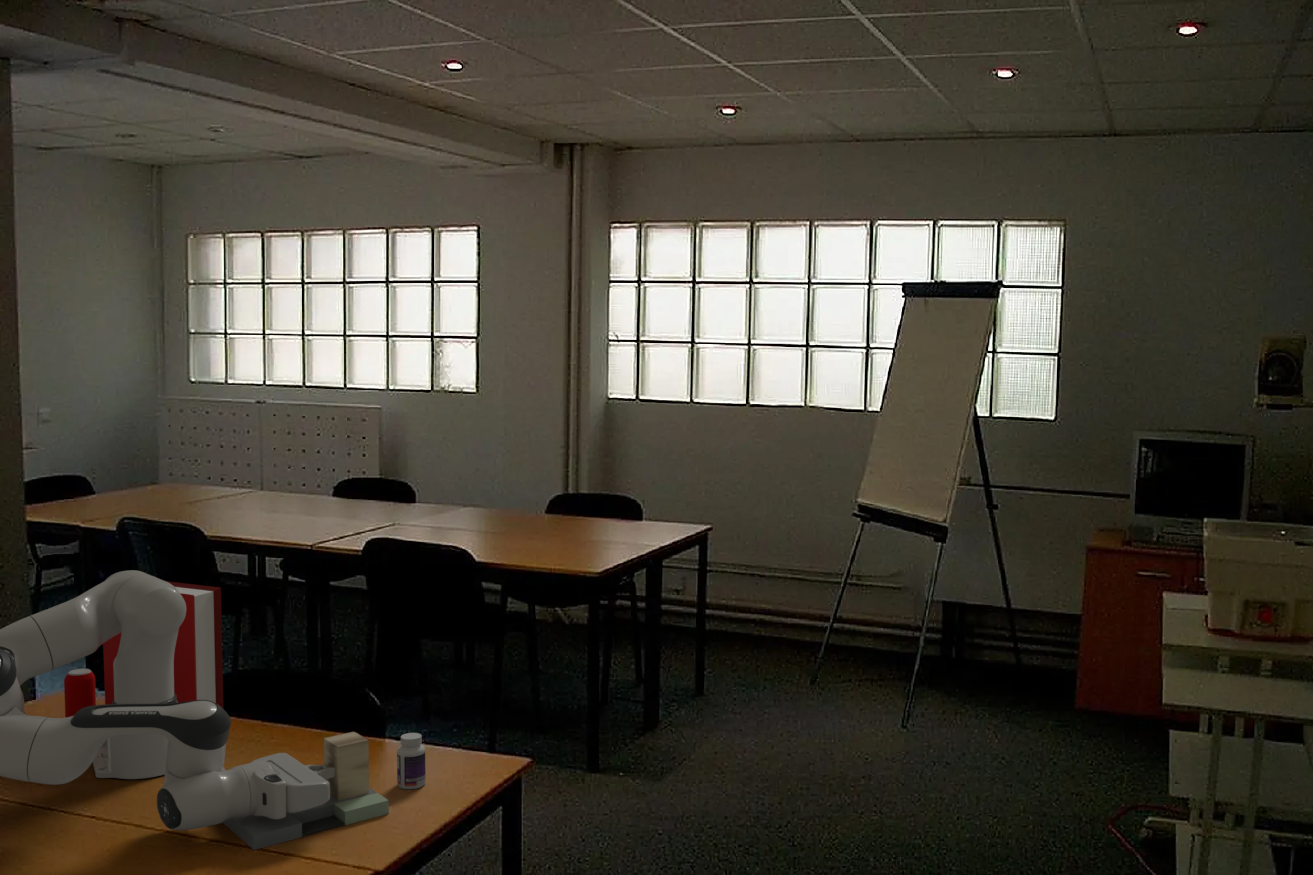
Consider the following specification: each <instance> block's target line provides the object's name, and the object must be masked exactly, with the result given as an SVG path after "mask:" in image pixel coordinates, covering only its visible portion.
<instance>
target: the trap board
mask: <svg viewBox="0 0 1313 875" xmlns="http://www.w3.org/2000/svg"><path fill="white" fill-rule="evenodd" d="M389 802H390V800H389V799H387V798H386V797H384V796H383V795H381V794H380V793H378V792H376V791H375V790H373V789H372V788H371V787H369V793H366V794H363V795H359V796H355V797H351V798H347V799H343V800H339V801H338V800H337V799H336V798H334V797H333V796H331V795H330V799H329V801H328V802H326V803H325V804H323V805H320V806H317V807H314V808H311V809H307V810H304V811H300V812H295V813H288V812H286V817H284V818H281V819H272V818H269V817H265V816H254V815H252V816H248V817H244V818H230V819H228V820H226V821H224V822H222V823H221V824H224V826H226V827H227V828H228V829H229V830H230V831H231V832H233V833H234V834H235V835H236V836H238V838H239V839H240V840H242V841H243V842H244V843H245V844H246V845H248V847H249V848H251V849H252V850H253V851H256V850H259V849H263V848H267V847H271V846H275V845H278V844H281V843H285V842H289V841H292V840H293V841H294V840H297V839H300V838H304V837H308V836H311V835H315V834H319V833H323V832H326V831H330V830H334V829H336V828H340V827H344V826H348V825H352V824H356V823H359V822H362V821H367V820H370V819H373V818H377V817H382V816H385V815H388V814H389V812H390V808H389V807H390V803H389Z"/></svg>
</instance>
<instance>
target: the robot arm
mask: <svg viewBox="0 0 1313 875" xmlns="http://www.w3.org/2000/svg"><path fill="white" fill-rule="evenodd" d="M166 581H167V580H163V579H162V578H161V579H160V578H158V577H156V576H154V575H151V574H148V573H146V572H143V571H140V570H134V569H131V570H122V571H119V572H115V573H113V574H111V575H110V576H108V577H107V578H106V579H105V580H104V581H101V583H99V584H97V585H95V586H93V587H92V588H89V589H88V590H87V591H85V592H83V593H81V594H80V595H78V596H76V597H74V598H72V599H69V600H67V601H65V602H62V603H60V604H57V605H54V606H52V607H49V608H48V609H44V610H42V611H39V612H37V613H34V614H31V615H29V616H26V617H24V618H21V619H19V620H17V621H14V622H12V623H10V624H8V625H6V626H4V627H2V628H1V629H0V777H4V778H7V779H11V780H17V781H21V782H29V783H34V784H35V783H36V784H42V785H53V786H54V785H64V784H68V783H70V782H72V781H74V780H76V779H77V778H79V777H81V776H82V775H83V774H84V773H85V772H86V771H87V770H88V769H89V768H90V766H93V771H94V773H95V774H94V775H95V778H97V779H107V778H108V779H112V778H114V779H123V780H138V779H140V780H141V779H150V778H155V777H159V776H164V780H163V785H162V787H161V788H159V790H158V792H157V796H156V808H157V812H158V814H159V818H160V820H161V822H162V823H163V825H164V826H165V827H167V828H168V829H169V830H172V831H188V830H197V829H202V828H207V827H211V826H215V825H220V824H223V823H222V822H224V821H226V820H228V819H230V818H244V817H248V816H252V815H254V816H265V817H269V818H272V819H281V818H284V817H286V812H288V813H295V812H300V811H304V810H307V809H311V808H314V807H317V806H320V805H323V804H325V803H326V802H328V801H329V799H330V783H329V782H328V781H327V780H326V779H329V778H333V777H335V768H333V767H332V766H330V765H329V764H324V763H323V764H306V765H304V763H301V762H300V761H299V760H297V759H296V758H294V757H293V756H291V755H290V754H288V752H287V753H286V752H278V753H277V752H276V753H273V754H270V755H266V756H263V757H260V758H257V759H254V760H252V761H251V762H249V763H244V764H239V765H236V766H233V767H231V768H229V769H226V768H225V767H224V765H225V759H226V748H227V742H228V739H229V734H230V728H231V725H232V720H231V717H230V716H229V713H227V711H226V710H225V709H224V707H223V708H221V707H220V706H219V705H218V704H216V703H215V702H212V701H209V700H192V701H186V702H179V703H178V702H177V696H176V694H175V693H174V652H175V646H176V641H177V636H178V631H179V627H180V625H181V624H182V623H183V621H184V618H185V615H186V603H185V601H184V599H183V597H182V595H181V594H180V593H179V591H178V590H177V589H176V588H175V587H174V586H173V585H172V584H170V583H168V582H169V581H168V582H166ZM119 633H121V640H120V645H119V650H118V654H117V657H116V658H115V660H114V663H113V671H114V700H113V702H112V704H105V703H104V704H96V705H94V706H89V707H85V708H82V709H80V710H79V711H78V712H77V713H76V714H75V715H74V716H71V717H66V718H65V717H60V718H59V717H50V716H48V717H46V716H39V715H28V714H26V713H25V699H24V693H23V690H22V688H21V686H22V685H23V684H24V683H25V682H26V681H28V680H29V679H31V678H35V677H37V676H40V675H43V674H46V673H49V672H50V671H53V670H55V669H56V670H57V669H58V668H61V667H63V666H66V665H68V664H70V663H72V662H75V661H78V660H80V659H82V658H84V657H87V656H89V655H92V654H93V653H95V652H96V651H97V650H98V648H100V646H103V643H105V642H106V641H108V640H109V639H111V638H112V637H114V636H116V635H117V634H119Z"/></svg>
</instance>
